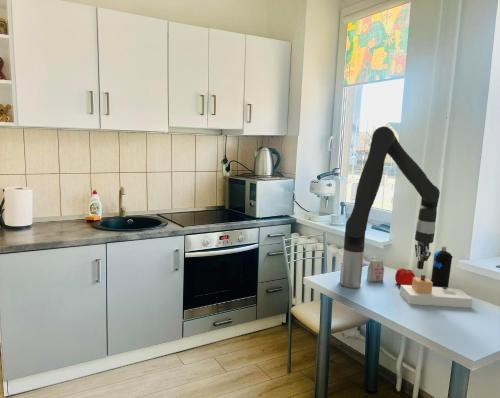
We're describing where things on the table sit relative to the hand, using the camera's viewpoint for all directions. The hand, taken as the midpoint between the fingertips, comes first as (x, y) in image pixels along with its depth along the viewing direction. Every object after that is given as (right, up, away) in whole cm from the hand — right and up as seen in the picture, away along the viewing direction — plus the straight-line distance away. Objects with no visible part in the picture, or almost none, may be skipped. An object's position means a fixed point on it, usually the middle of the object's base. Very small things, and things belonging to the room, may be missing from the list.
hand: (419, 268), depth 174 cm
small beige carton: (-13, -10, +22) cm, 27 cm away
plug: (0, -12, -1) cm, 12 cm away
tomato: (0, -11, +17) cm, 21 cm away
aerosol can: (+17, -12, +17) cm, 27 cm away
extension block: (+6, -14, -1) cm, 15 cm away
